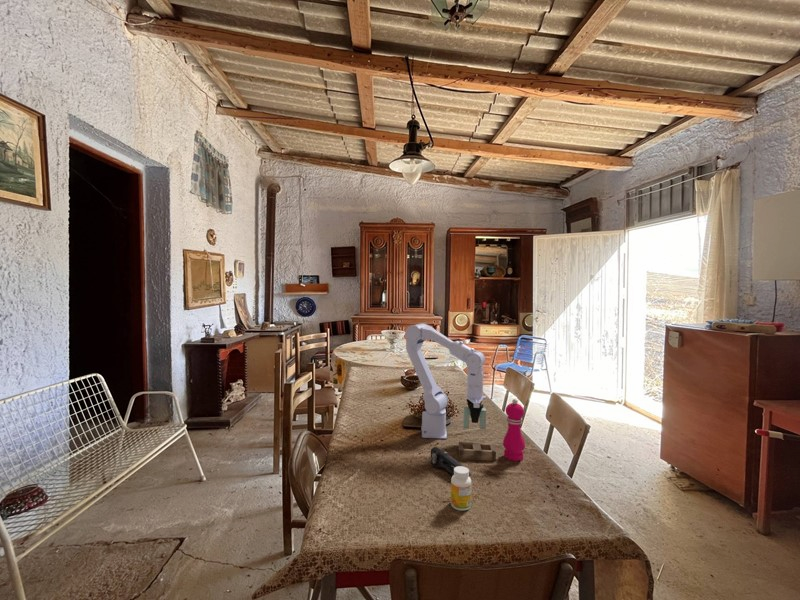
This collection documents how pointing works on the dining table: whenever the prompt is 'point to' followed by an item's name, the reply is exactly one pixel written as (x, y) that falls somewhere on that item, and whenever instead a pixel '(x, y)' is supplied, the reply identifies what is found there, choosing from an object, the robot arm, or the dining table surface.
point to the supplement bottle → (461, 489)
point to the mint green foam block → (467, 412)
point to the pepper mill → (514, 432)
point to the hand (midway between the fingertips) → (474, 420)
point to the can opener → (443, 460)
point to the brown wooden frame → (477, 451)
